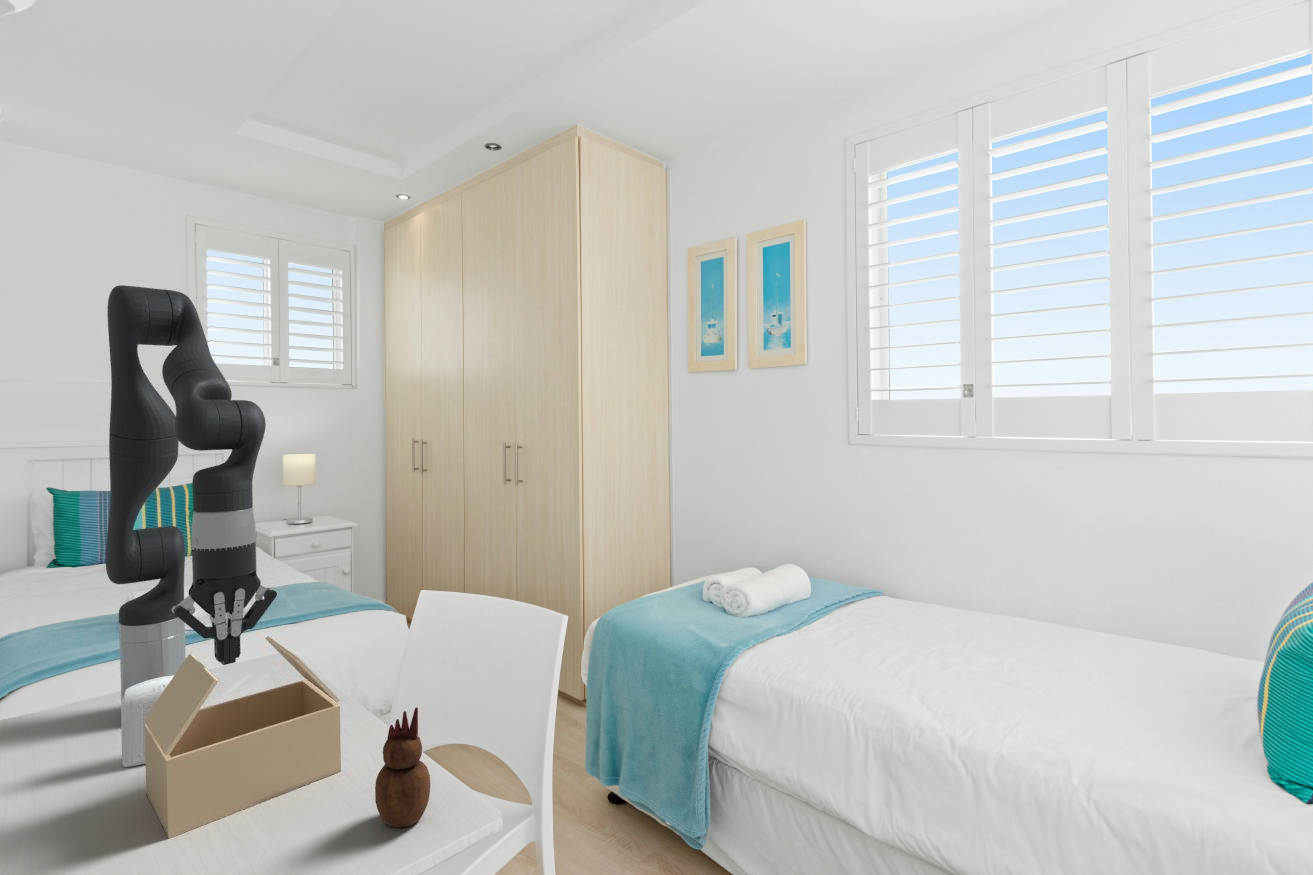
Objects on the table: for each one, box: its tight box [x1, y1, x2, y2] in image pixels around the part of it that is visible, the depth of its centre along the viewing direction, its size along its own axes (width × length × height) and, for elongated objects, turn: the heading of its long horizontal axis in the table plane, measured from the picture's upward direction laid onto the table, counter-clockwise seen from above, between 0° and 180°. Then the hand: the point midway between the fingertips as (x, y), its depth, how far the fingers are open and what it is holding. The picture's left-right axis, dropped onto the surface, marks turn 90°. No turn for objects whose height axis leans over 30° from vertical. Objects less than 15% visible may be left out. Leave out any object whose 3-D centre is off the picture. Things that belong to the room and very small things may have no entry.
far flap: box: [264, 636, 341, 703], centre depth 99 cm, size 14×10×1 cm
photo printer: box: [120, 676, 204, 768], centre depth 101 cm, size 10×4×12 cm, turn 123°
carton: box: [144, 679, 342, 839], centre depth 94 cm, size 14×21×10 cm, turn 137°
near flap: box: [144, 653, 219, 755], centre depth 88 cm, size 14×10×1 cm
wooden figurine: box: [374, 707, 431, 828], centre depth 85 cm, size 7×6×15 cm
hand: (227, 662), depth 92 cm, fingers closed
